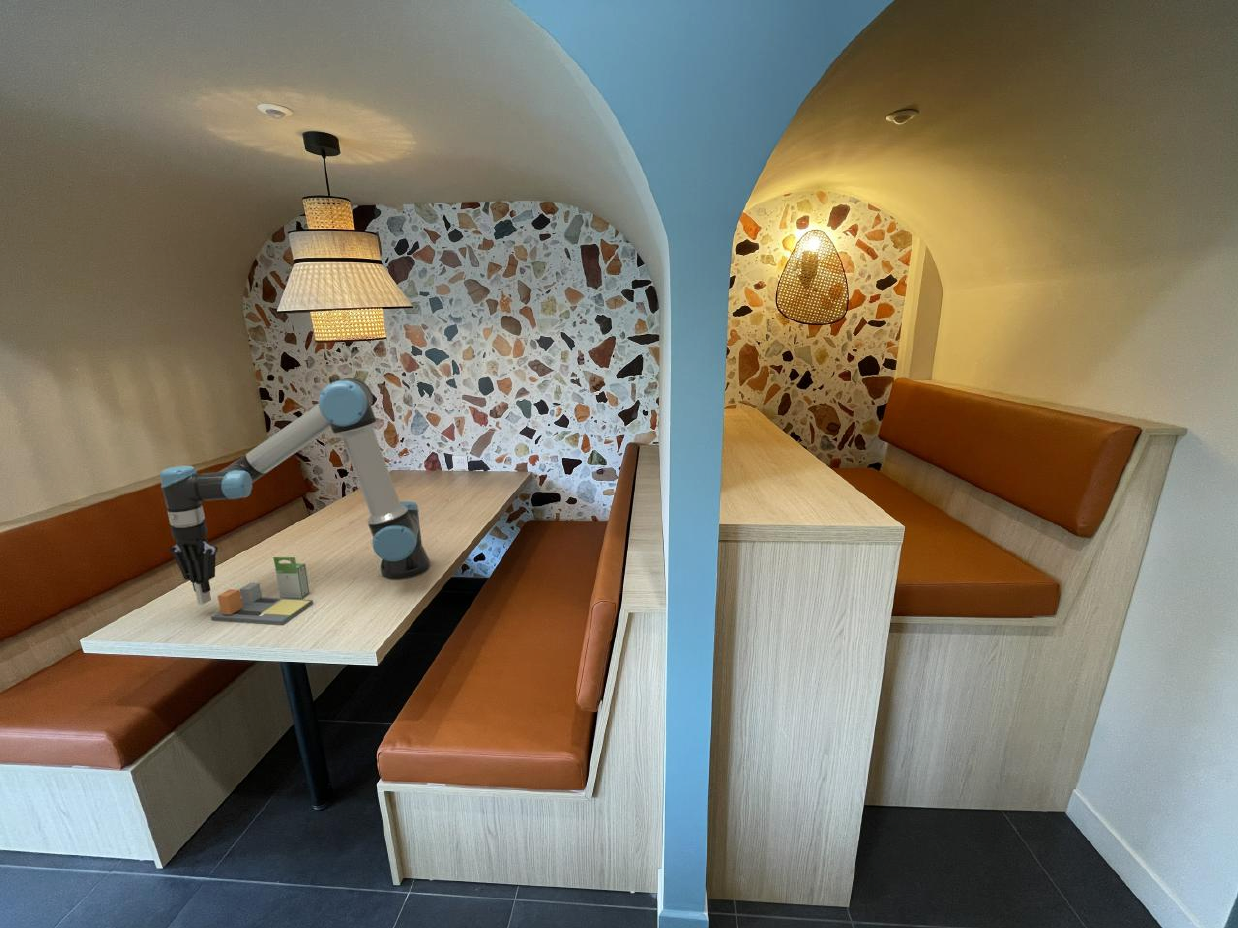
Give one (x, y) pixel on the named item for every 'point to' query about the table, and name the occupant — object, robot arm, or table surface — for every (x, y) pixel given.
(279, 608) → the pad
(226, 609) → the lever
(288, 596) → the ink box
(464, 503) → the table surface
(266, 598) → the panel
